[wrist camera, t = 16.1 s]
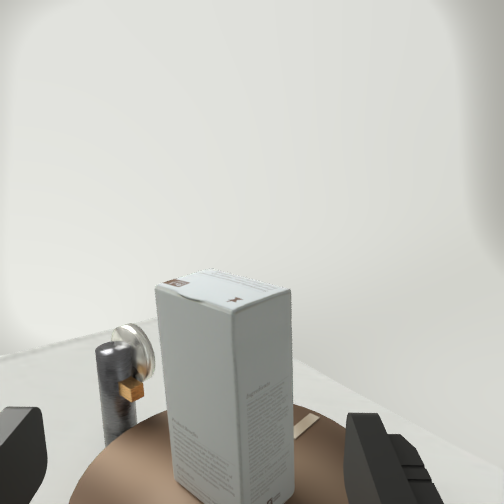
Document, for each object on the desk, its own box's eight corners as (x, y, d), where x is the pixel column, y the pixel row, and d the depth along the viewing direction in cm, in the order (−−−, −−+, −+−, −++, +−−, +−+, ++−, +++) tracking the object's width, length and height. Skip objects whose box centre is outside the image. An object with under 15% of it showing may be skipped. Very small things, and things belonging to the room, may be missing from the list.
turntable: (249, 874, 13) (248, 819, 13) (7, 536, 25) (0, 499, 24) (445, 505, 26) (449, 470, 26) (228, 397, 38) (228, 371, 37)
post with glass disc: (164, 447, 33) (156, 333, 30) (128, 470, 30) (117, 349, 28) (127, 422, 36) (117, 316, 33) (92, 441, 33) (79, 329, 31)
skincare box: (298, 493, 24) (301, 285, 21) (241, 546, 21) (237, 311, 18) (221, 443, 28) (216, 263, 25) (165, 481, 25) (151, 281, 22)
